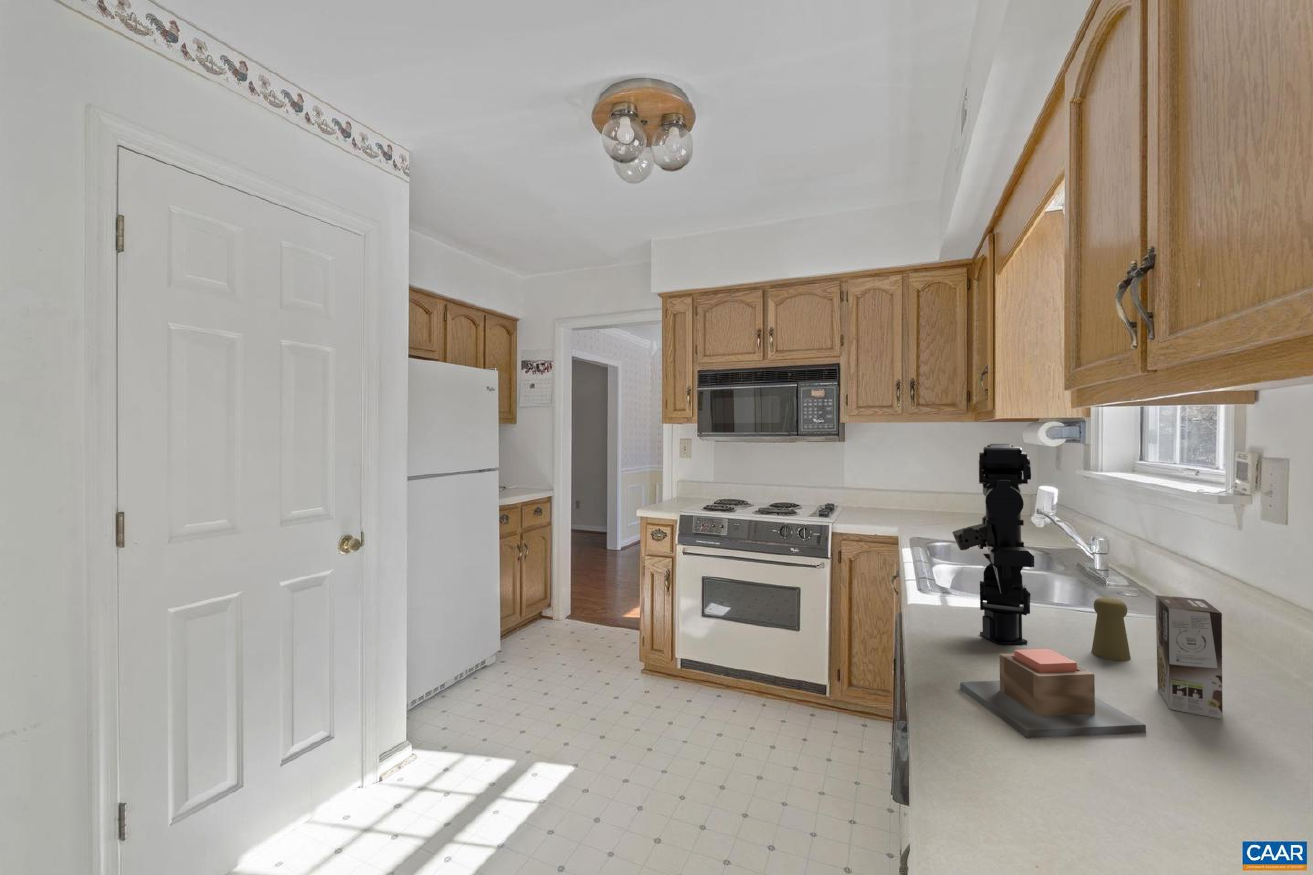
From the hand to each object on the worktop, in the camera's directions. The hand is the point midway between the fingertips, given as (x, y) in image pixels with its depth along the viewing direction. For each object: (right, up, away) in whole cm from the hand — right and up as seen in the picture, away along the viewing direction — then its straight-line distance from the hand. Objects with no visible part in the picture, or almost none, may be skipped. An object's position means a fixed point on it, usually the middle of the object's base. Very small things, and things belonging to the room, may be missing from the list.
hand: (1004, 594), depth 108 cm
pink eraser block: (-5, -11, -18) cm, 22 cm away
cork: (+23, -13, +3) cm, 27 cm away
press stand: (-5, -13, -18) cm, 23 cm away
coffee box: (+19, -13, -17) cm, 29 cm away
